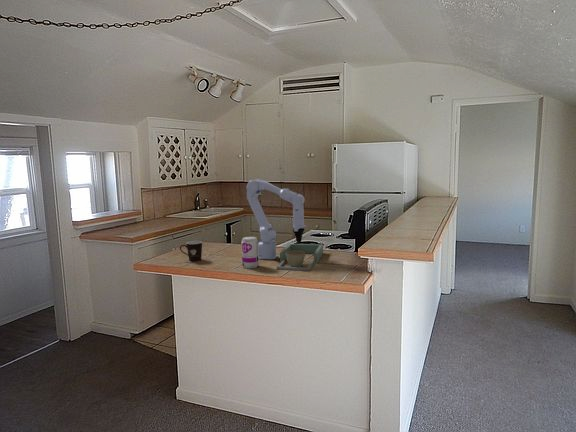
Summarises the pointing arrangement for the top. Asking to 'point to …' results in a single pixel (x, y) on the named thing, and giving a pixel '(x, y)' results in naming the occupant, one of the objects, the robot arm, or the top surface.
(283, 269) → the edging
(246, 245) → the supplement can
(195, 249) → the coffee mug
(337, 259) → the top surface
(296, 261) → the flower pot
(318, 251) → the cold frame
